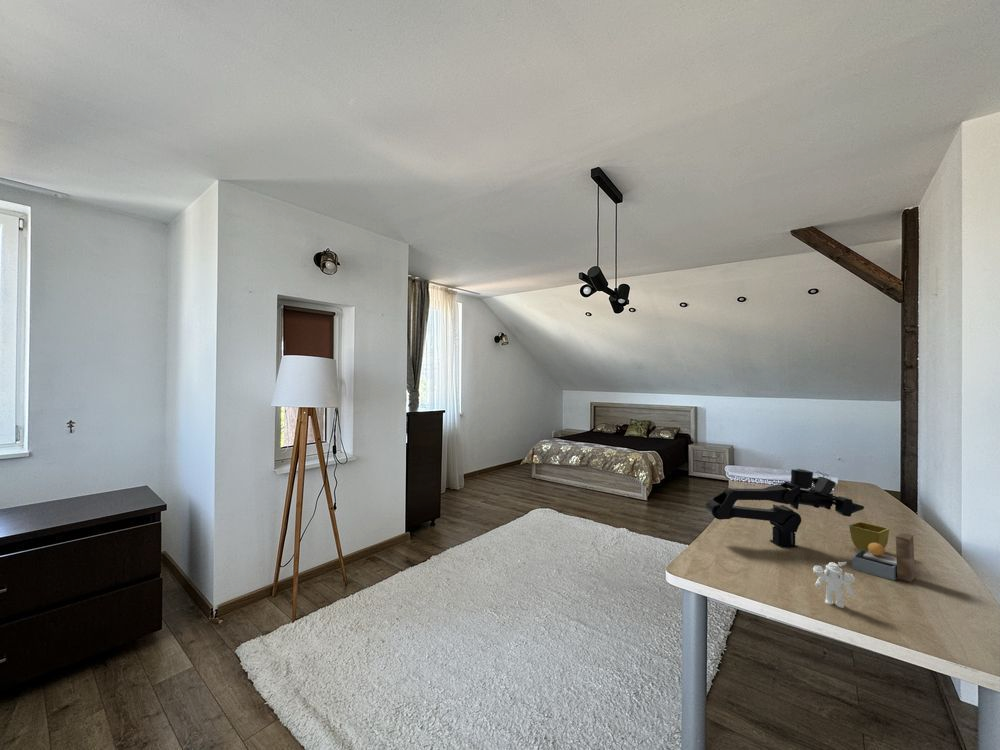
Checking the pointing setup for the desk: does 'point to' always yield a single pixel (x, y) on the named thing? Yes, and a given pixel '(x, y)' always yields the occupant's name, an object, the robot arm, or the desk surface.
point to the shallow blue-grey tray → (873, 566)
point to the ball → (876, 549)
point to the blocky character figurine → (834, 582)
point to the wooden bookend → (900, 557)
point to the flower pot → (868, 535)
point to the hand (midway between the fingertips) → (853, 503)
